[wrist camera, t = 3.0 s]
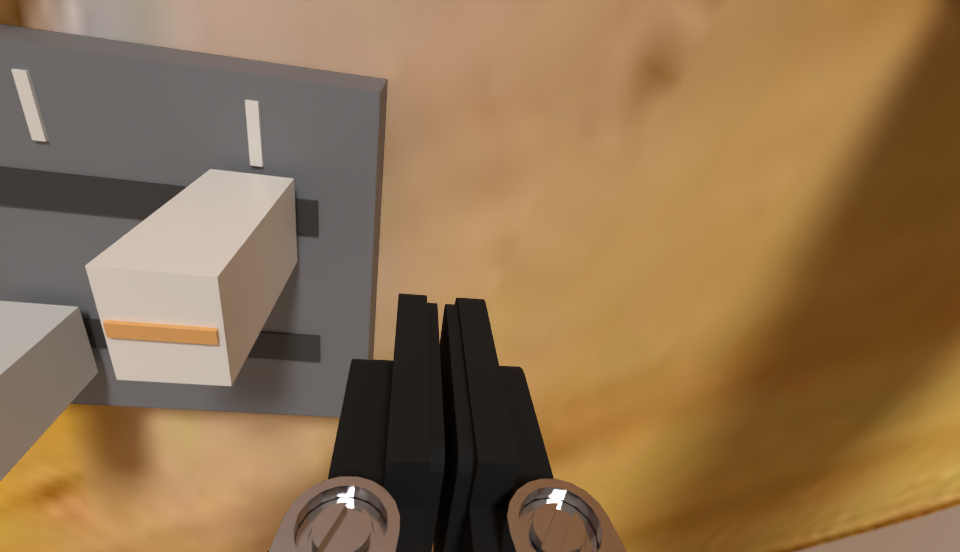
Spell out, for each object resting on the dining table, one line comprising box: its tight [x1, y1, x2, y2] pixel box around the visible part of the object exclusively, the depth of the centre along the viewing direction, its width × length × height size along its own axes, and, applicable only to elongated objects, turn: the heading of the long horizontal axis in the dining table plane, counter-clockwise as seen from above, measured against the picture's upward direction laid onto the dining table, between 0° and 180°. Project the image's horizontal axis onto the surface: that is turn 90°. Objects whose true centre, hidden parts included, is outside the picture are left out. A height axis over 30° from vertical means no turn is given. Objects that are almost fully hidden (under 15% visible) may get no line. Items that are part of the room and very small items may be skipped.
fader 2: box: [85, 169, 297, 386], centre depth 11 cm, size 2×2×5 cm
